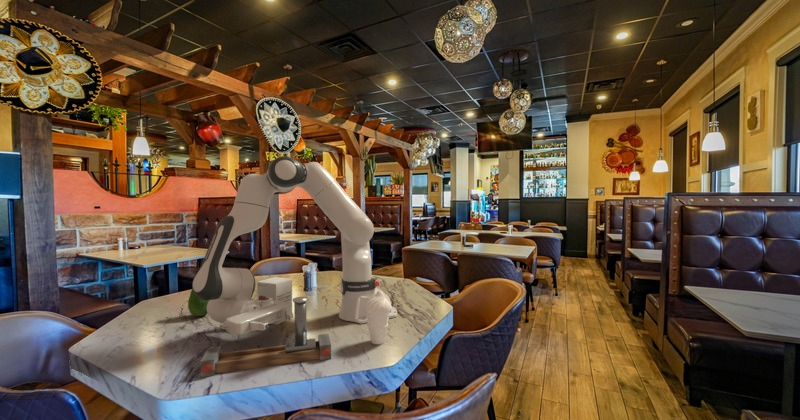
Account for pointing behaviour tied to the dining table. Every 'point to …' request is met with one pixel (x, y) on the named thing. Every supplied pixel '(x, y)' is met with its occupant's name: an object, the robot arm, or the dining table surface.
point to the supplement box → (276, 291)
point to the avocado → (197, 305)
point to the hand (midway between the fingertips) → (279, 321)
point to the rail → (260, 357)
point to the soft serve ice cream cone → (377, 317)
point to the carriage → (300, 328)
